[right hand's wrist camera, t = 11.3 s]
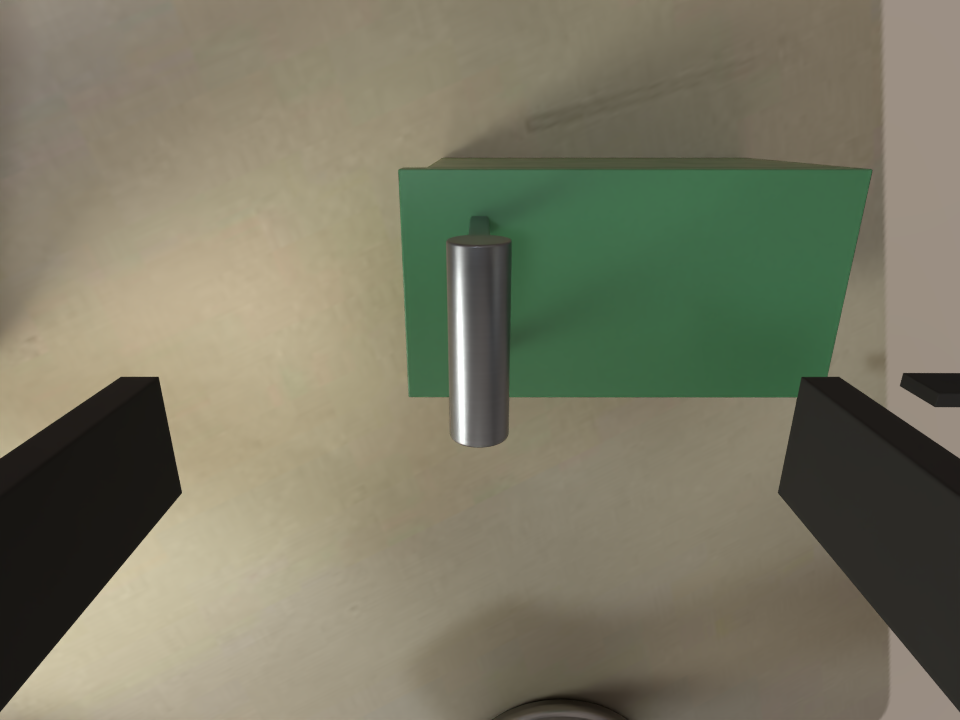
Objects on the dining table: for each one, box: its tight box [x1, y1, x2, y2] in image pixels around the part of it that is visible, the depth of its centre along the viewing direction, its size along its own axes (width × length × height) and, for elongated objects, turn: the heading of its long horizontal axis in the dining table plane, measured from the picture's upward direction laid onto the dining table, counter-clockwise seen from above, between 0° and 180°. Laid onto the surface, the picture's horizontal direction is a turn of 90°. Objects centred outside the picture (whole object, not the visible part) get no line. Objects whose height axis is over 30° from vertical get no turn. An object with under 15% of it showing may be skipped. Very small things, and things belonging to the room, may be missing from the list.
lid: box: [398, 168, 872, 447], centre depth 21 cm, size 18×9×8 cm, turn 90°
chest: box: [427, 158, 850, 168], centre depth 30 cm, size 17×9×10 cm, turn 90°
